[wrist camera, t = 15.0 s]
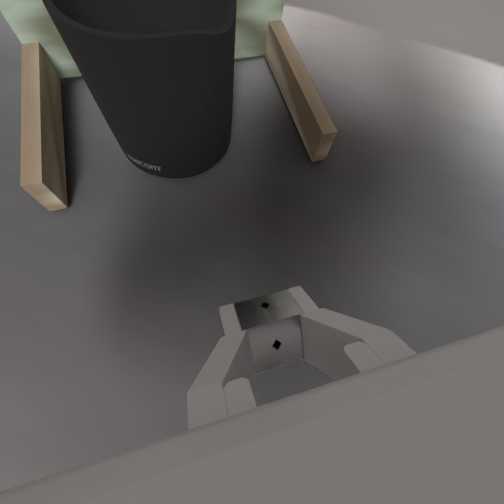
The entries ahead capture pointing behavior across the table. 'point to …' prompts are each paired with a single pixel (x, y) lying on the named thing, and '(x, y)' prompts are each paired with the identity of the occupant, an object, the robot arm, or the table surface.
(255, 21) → the corral
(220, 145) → the pen holder
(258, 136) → the table surface
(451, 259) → the table surface
